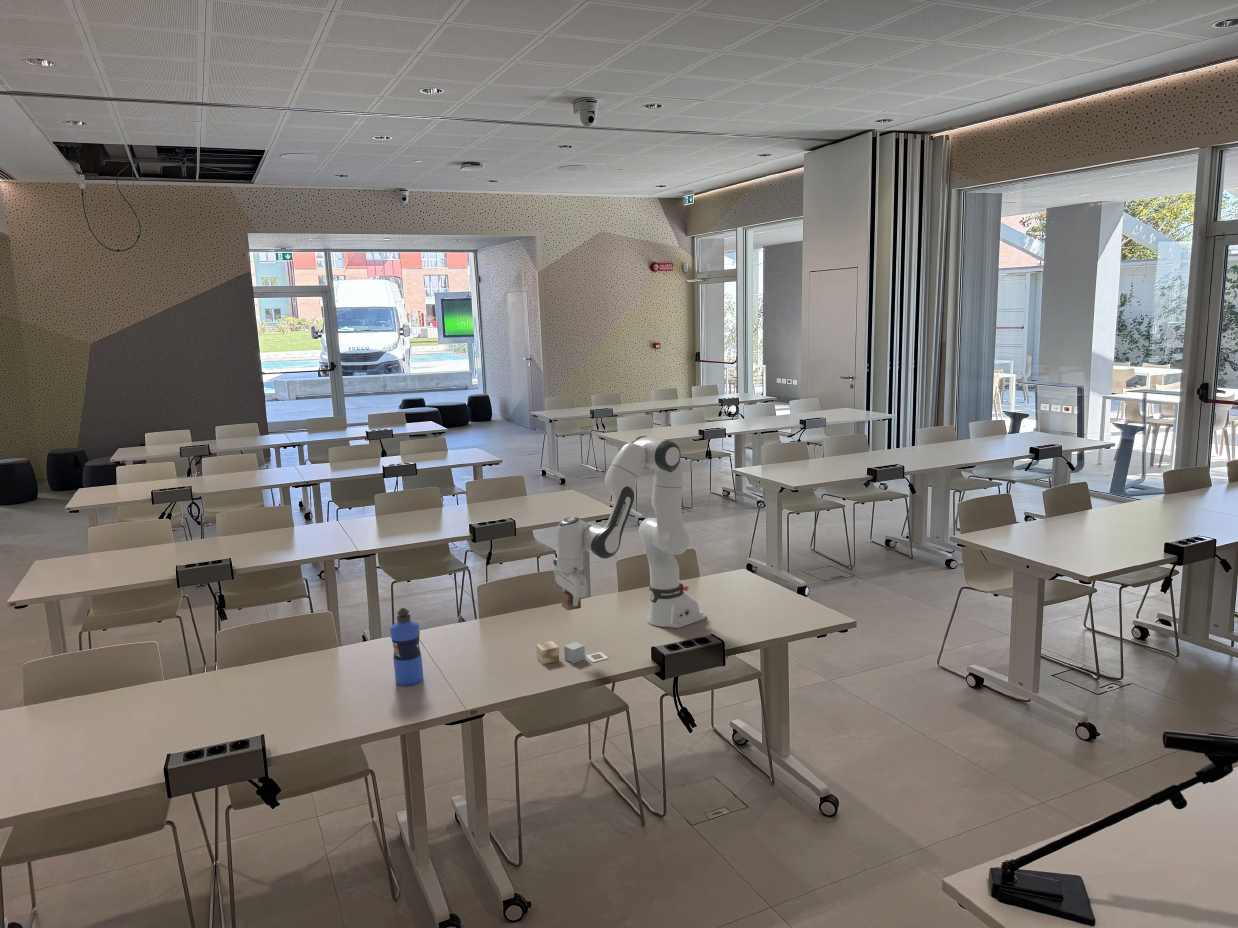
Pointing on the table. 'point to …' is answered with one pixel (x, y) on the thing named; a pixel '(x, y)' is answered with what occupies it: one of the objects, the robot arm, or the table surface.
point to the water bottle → (406, 650)
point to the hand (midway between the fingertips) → (571, 602)
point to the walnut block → (569, 601)
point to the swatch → (596, 657)
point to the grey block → (574, 652)
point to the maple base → (547, 652)
